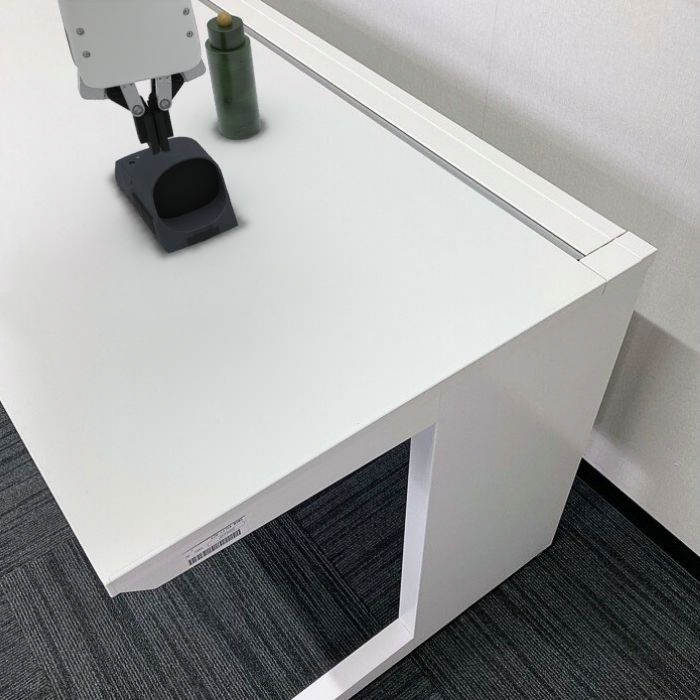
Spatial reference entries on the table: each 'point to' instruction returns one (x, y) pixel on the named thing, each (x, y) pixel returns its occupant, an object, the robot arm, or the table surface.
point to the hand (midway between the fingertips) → (157, 145)
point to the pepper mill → (232, 77)
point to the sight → (177, 193)
